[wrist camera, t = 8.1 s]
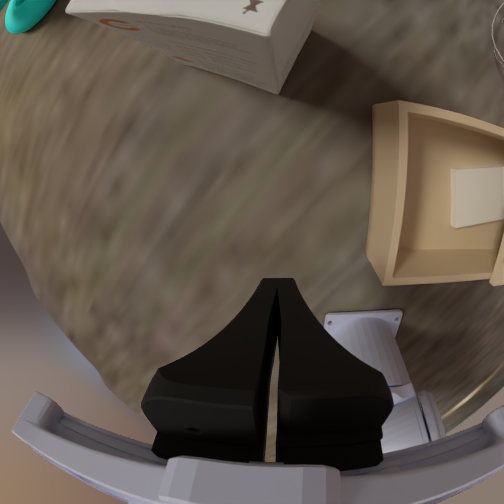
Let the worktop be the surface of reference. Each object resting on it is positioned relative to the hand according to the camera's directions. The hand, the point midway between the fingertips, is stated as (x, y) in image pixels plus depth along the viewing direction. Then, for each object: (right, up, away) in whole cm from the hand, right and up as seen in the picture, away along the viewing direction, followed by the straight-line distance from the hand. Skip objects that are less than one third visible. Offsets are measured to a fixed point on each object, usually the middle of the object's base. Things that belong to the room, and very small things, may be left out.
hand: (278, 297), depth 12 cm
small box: (-2, +17, +4) cm, 18 cm away
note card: (+19, +7, +5) cm, 21 cm away
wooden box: (+17, +7, +6) cm, 19 cm away
